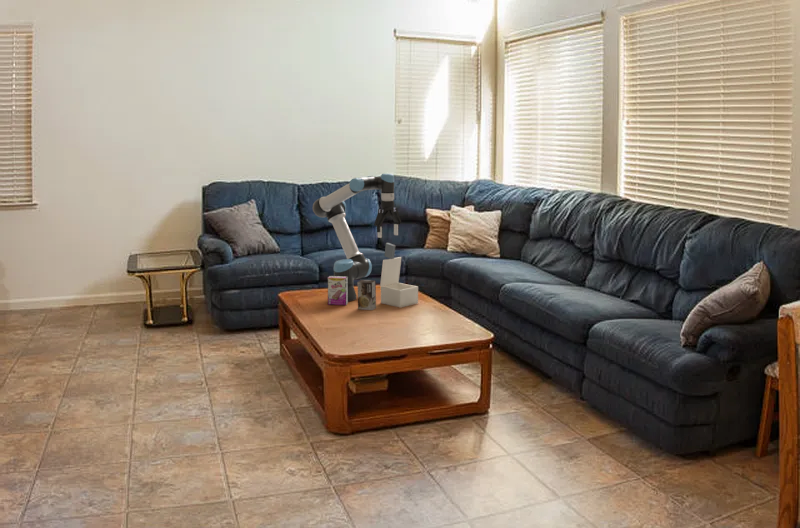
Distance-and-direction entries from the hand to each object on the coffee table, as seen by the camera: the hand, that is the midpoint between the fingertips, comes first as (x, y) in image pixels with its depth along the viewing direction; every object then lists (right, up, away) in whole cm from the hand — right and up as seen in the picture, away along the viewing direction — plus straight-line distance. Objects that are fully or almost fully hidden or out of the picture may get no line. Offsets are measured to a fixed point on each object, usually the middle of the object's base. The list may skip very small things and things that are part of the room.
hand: (387, 236), depth 456 cm
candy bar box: (-29, -40, -2) cm, 50 cm away
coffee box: (-12, -42, -12) cm, 45 cm away
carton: (+7, -39, +1) cm, 40 cm away
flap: (+2, -17, +1) cm, 17 cm away
